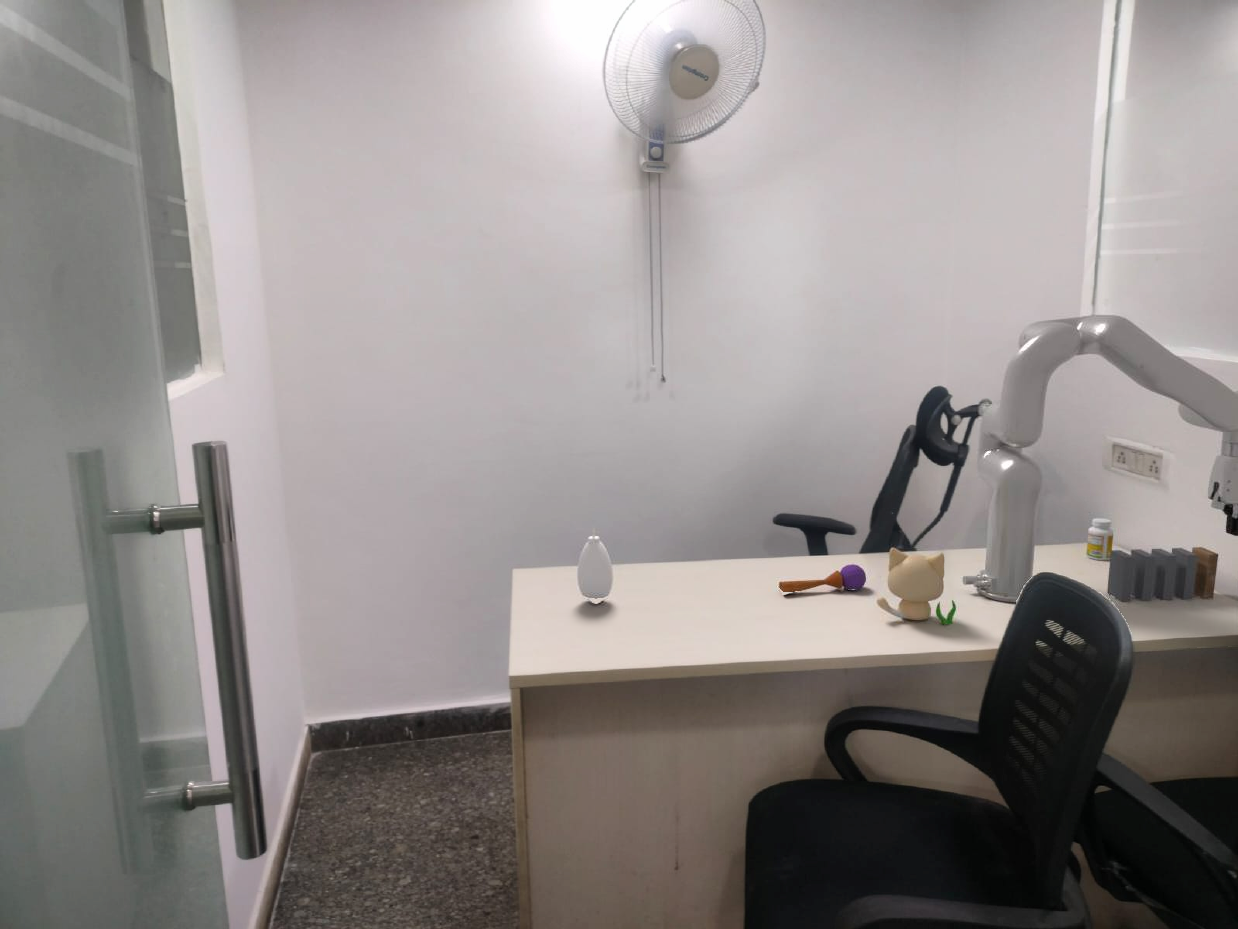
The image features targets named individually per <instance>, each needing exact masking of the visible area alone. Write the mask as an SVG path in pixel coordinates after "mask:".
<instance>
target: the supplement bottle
mask: <svg viewBox="0 0 1238 929" xmlns="http://www.w3.org/2000/svg"><path fill="white" fill-rule="evenodd" d="M1091 525H1092V526H1091V527H1089V528H1088V531H1087V544H1086V545H1087V546H1086V557H1087V558H1089V559H1090V558H1091V560H1094V561H1104V562H1105V561H1110V556H1111V550H1113V541H1114V531H1113V529H1112V528H1111V526H1112V520H1110V519H1107V518H1100V517H1099V518H1095V517H1094V518H1093V519H1092V522H1091Z"/></svg>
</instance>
